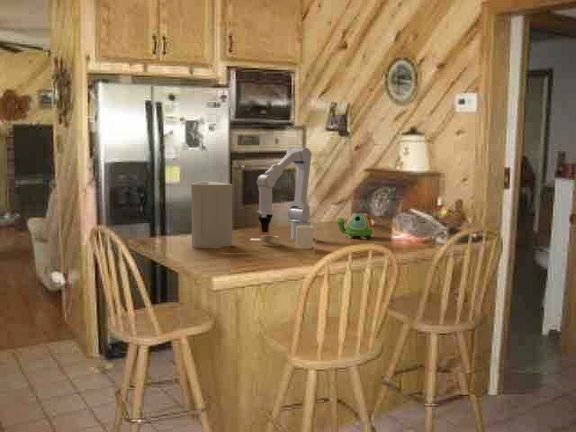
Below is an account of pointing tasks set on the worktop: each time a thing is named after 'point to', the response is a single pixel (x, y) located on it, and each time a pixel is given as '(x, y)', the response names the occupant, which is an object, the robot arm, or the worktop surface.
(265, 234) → the rust block
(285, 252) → the worktop surface
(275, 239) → the maple brick
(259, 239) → the build board
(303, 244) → the white cup
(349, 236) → the turtle holder
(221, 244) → the ribbed grey pillar
